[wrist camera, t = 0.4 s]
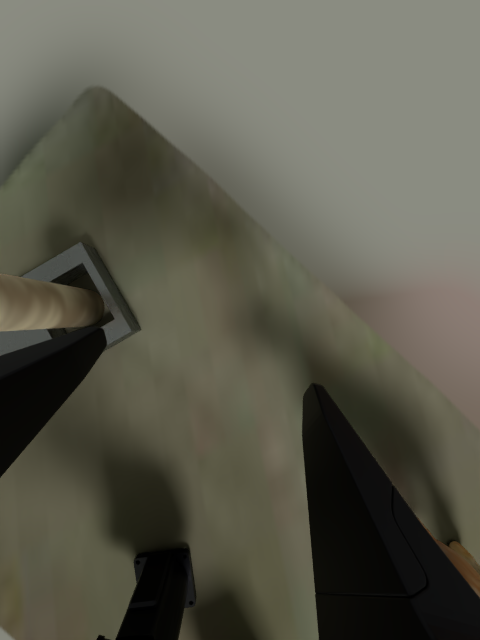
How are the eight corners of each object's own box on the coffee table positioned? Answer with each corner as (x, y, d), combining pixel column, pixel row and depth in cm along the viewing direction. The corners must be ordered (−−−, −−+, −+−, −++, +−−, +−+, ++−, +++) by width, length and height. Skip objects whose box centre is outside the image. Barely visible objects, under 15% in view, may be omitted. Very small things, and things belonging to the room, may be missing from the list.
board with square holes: (94, 248, 23) (79, 241, 21) (141, 329, 23) (130, 331, 21) (-86, 353, 23) (-120, 356, 21) (-39, 432, 23) (-69, 444, 21)
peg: (106, 323, 23) (3, 328, 13) (70, 328, 23) (-62, 337, 13) (101, 286, 23) (-7, 263, 13) (64, 292, 23) (-72, 272, 13)
